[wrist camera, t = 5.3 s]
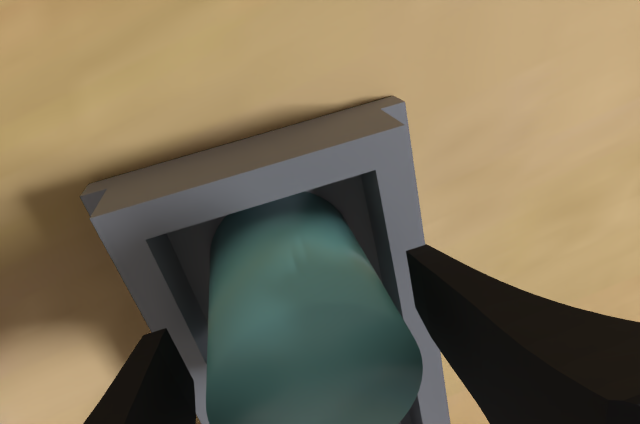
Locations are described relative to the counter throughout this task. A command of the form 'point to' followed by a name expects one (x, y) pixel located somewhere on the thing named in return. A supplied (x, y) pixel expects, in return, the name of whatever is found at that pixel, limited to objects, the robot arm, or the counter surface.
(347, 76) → the counter surface
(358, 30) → the counter surface
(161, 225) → the housing
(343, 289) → the teal cylinder
